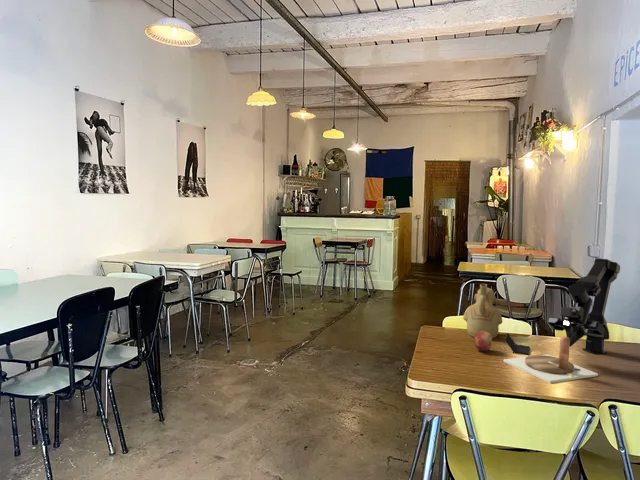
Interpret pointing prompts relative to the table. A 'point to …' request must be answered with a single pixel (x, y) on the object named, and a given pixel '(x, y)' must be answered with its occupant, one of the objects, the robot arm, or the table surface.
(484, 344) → the fruit
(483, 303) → the ceramic vessel
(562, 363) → the dial
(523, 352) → the handheld gaming console
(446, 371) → the table surface
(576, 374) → the dial plate
